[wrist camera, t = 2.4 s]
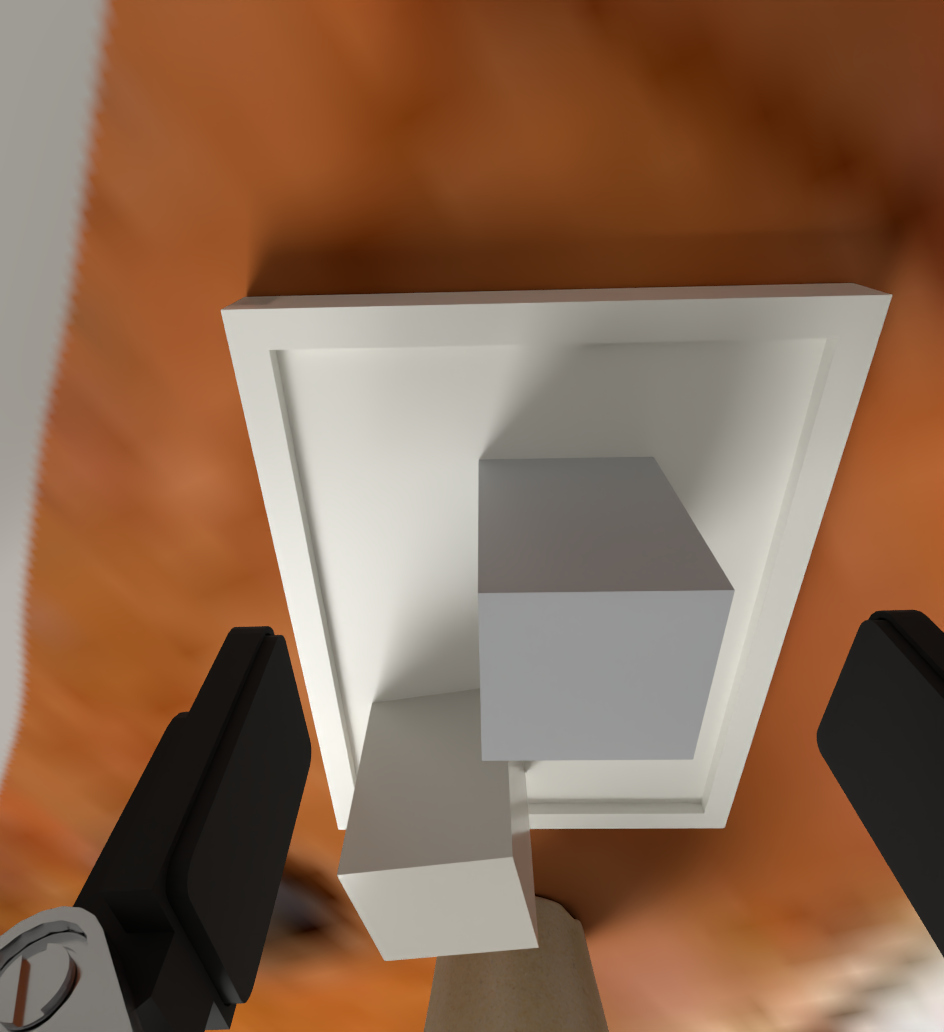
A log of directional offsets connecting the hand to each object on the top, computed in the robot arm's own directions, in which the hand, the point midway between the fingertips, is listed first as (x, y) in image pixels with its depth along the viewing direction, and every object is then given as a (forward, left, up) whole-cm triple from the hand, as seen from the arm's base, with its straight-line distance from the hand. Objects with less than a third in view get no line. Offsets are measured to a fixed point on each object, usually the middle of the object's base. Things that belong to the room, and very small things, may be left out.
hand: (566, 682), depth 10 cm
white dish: (0, +3, -6) cm, 7 cm away
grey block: (-1, 0, -5) cm, 5 cm away
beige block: (+2, +8, -5) cm, 10 cm away
